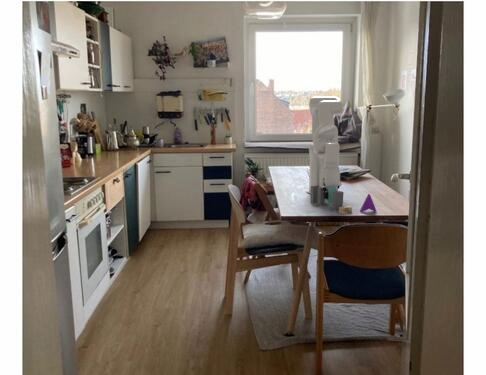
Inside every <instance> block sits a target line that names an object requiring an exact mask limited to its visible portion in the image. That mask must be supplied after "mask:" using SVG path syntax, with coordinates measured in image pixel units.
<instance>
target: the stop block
mask: <svg viewBox="0 0 486 375" xmlns="http://www.w3.org/2000/svg"><path fill="white" fill-rule="evenodd" d="M352 208H353V207H352V206H349V205H345V206H344V205H343V207H339V211H338V213H339V214H341V213H342V215H345V213H346V214H351V213H352V211H353V209H352Z"/></svg>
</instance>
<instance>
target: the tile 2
mask: <svg viewBox="0 0 486 375" xmlns="http://www.w3.org/2000/svg"><path fill="white" fill-rule="evenodd" d="M319 205H322V206H327V205H328V203H325V199H324V191H323V190H322V189H321V188H320V187H318V199H317V203H316V206H319Z"/></svg>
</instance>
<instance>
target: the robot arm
mask: <svg viewBox="0 0 486 375" xmlns="http://www.w3.org/2000/svg"><path fill="white" fill-rule="evenodd" d="M308 103H309V104H308V105H309V106H308V107H309V108H308V109H309V111H310V114H311V137H312V142H311V144H309V147H308V152H309V154H308V155H309V175H308V176H309V178H308V179H309V180H308V181H309V183H308V189H306V193H308V194H310V195H311V185H320V186H319V187H320V188H321V189H322V190H323V191H324V199H328V196H329V192H328V189H329V187H332V186H336V191H339V189H340V188H341V186H342V184H343V183H342V182H341V173H340V172H341V170H340V165H341V164H340V148H341V146H340V143H339V141H338V140H339V129H338V127H337V126H336V125H335V117H334V116H341V115H343V112H344V104H343V101H342V100H341V99H340V98H339V97H338V96H330V95H329V96H326V95H325V96H324V95H322V96H321V95H320V96H319V95H318V96H312V97H311V98H310V99H309V102H308ZM323 159H324V161H323Z"/></svg>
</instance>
